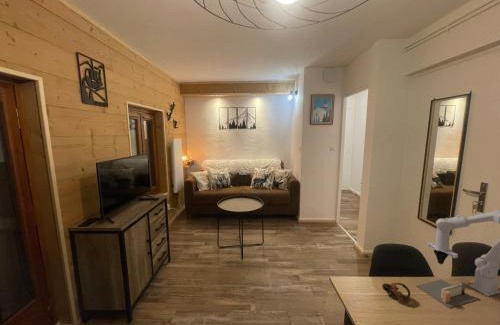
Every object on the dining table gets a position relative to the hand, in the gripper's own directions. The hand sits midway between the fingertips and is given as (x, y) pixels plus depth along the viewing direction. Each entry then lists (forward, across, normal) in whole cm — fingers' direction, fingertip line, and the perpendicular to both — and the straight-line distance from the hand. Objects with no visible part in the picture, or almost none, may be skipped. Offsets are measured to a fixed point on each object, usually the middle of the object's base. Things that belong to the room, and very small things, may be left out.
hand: (440, 263), depth 124 cm
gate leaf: (+9, +12, -9) cm, 17 cm away
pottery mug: (+10, +3, -35) cm, 36 cm away
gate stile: (+9, +14, -15) cm, 23 cm away
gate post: (+9, +12, -2) cm, 15 cm away
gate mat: (+9, +9, -9) cm, 16 cm away
